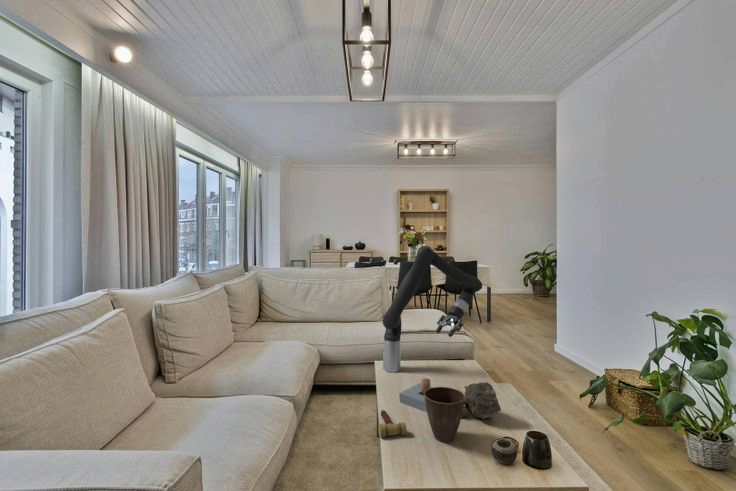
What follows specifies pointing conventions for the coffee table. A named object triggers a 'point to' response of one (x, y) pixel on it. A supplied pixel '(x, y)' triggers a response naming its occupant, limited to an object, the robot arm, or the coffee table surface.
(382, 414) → the gavel
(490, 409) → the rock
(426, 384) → the cherry peg
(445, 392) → the plant pot
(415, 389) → the slate socket board
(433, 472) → the coffee table surface
